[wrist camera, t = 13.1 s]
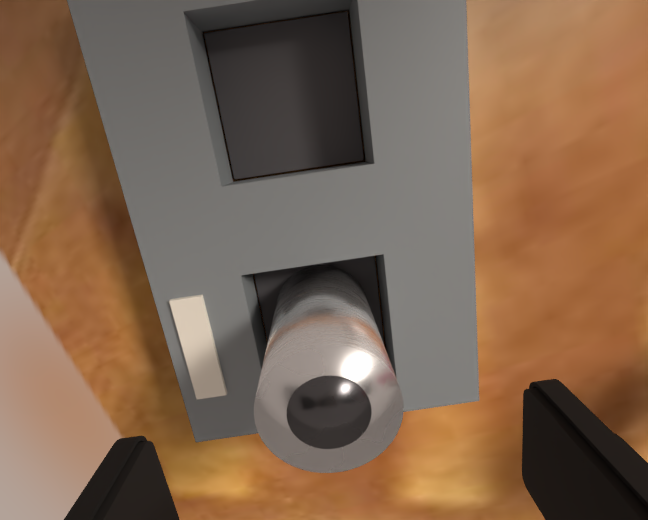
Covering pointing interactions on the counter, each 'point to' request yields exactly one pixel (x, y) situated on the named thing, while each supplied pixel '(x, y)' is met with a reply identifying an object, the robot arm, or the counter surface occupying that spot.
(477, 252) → the counter surface
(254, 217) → the block
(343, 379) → the bushing
